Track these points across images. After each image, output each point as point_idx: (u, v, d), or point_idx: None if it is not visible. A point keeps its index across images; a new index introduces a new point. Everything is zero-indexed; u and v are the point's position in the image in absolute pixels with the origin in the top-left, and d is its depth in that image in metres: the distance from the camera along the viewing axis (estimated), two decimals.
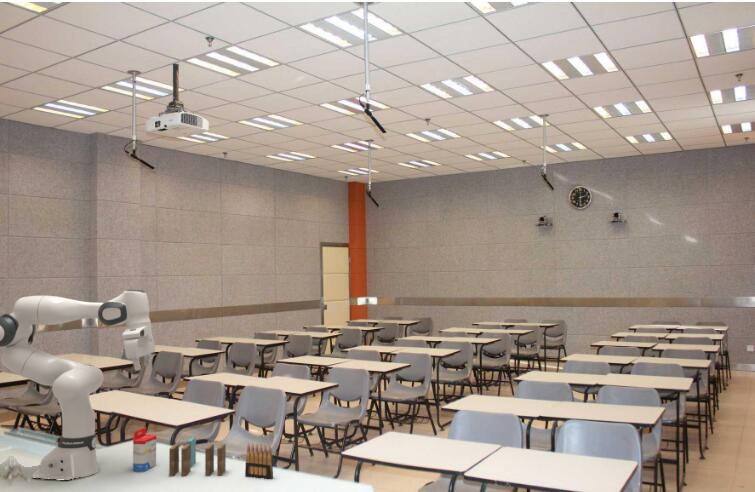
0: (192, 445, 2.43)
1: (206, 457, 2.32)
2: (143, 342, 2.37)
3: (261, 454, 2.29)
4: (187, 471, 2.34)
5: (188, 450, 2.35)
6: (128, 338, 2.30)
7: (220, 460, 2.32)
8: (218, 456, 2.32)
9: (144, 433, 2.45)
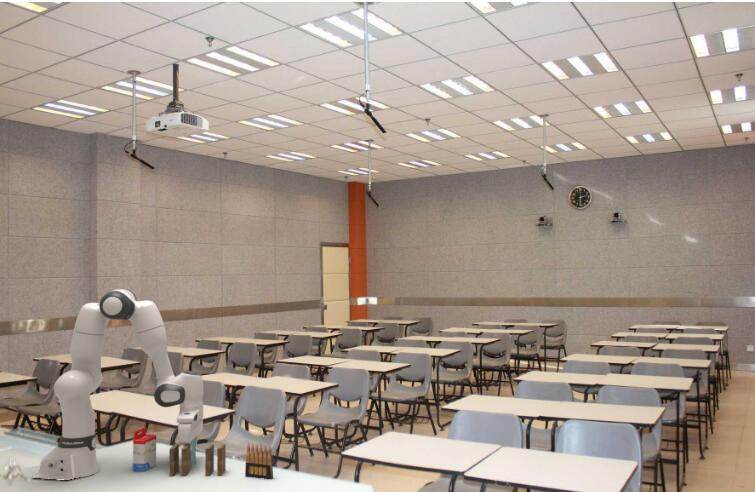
0: (192, 445, 2.43)
1: (206, 457, 2.32)
2: (194, 424, 2.44)
3: (261, 454, 2.29)
4: (187, 471, 2.34)
5: (188, 450, 2.34)
6: (182, 422, 2.37)
7: (220, 460, 2.32)
8: (218, 456, 2.32)
9: (144, 433, 2.45)
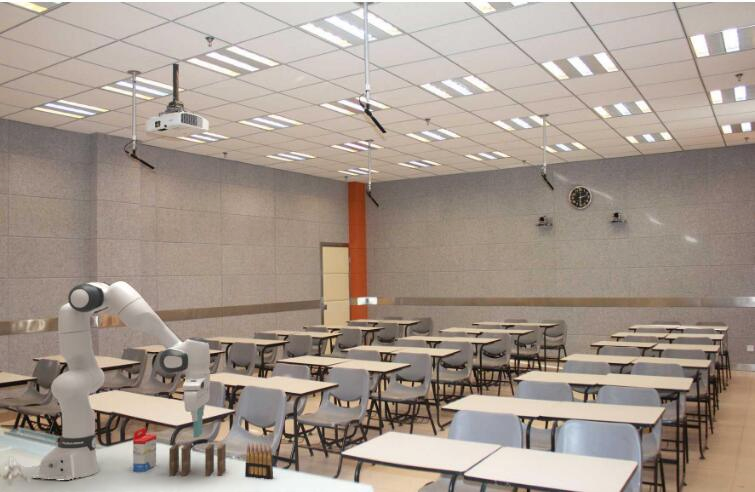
0: (198, 414, 2.33)
1: (206, 457, 2.32)
2: (201, 393, 2.35)
3: (261, 454, 2.29)
4: (187, 471, 2.34)
5: (188, 450, 2.35)
6: (188, 390, 2.27)
7: (220, 460, 2.32)
8: (218, 456, 2.32)
9: (144, 433, 2.45)
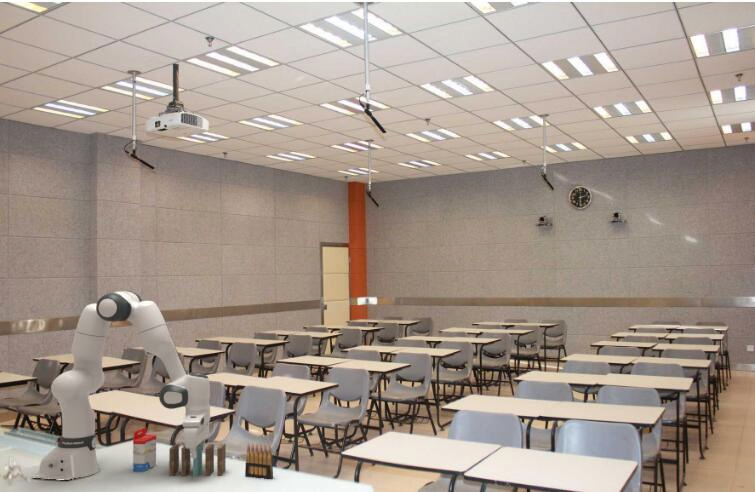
0: (198, 453, 2.33)
1: (206, 457, 2.32)
2: (201, 428, 2.34)
3: (261, 454, 2.29)
4: (187, 471, 2.34)
5: (188, 450, 2.35)
6: (188, 426, 2.27)
7: (220, 460, 2.32)
8: (218, 456, 2.32)
9: (144, 433, 2.45)
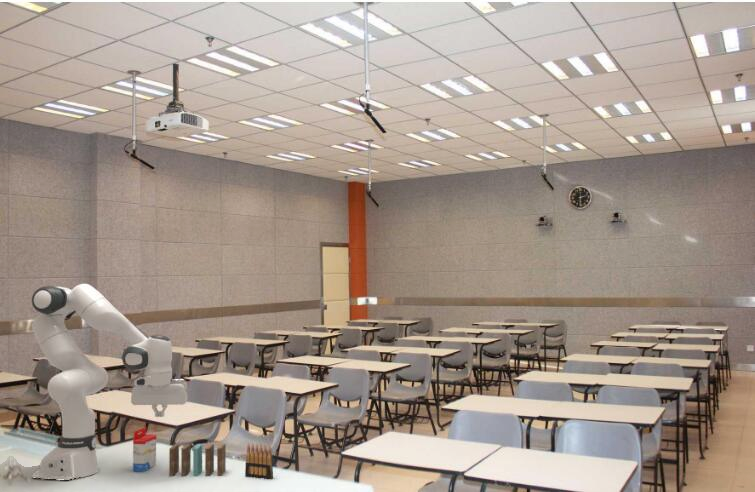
0: (198, 453, 2.33)
1: (206, 457, 2.32)
2: (156, 391, 2.34)
3: (261, 454, 2.29)
4: (187, 471, 2.34)
5: (188, 450, 2.35)
6: None
7: (220, 460, 2.32)
8: (218, 456, 2.32)
9: (144, 433, 2.45)
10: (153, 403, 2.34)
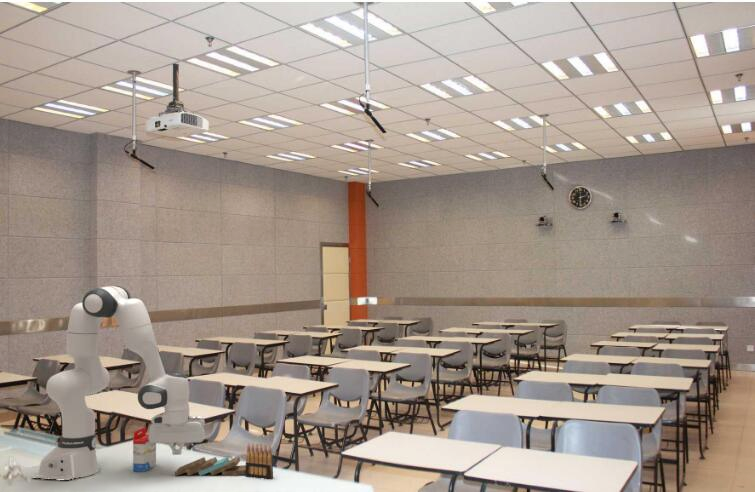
0: None
1: (227, 465, 2.31)
2: (173, 429, 2.33)
3: (261, 454, 2.29)
4: None
5: None
6: None
7: (237, 473, 2.31)
8: (241, 471, 2.31)
9: (144, 433, 2.45)
10: (170, 441, 2.33)
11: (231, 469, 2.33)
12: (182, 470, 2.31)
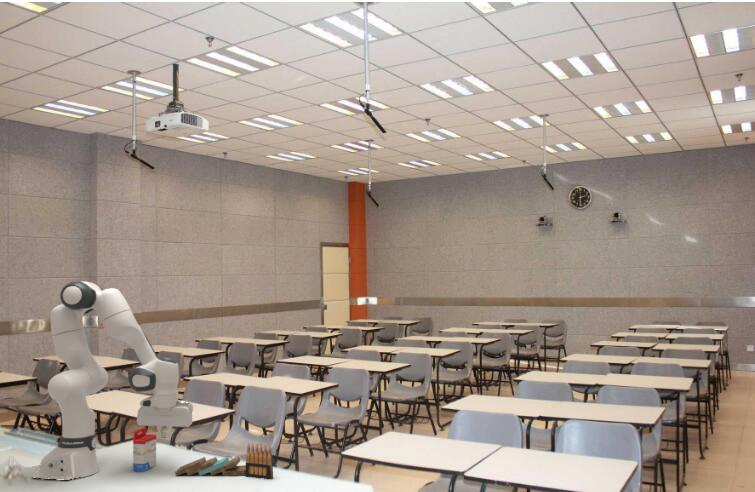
0: (220, 466, 2.32)
1: (227, 466, 2.31)
2: (161, 412, 2.36)
3: (261, 454, 2.29)
4: None
5: None
6: None
7: (237, 473, 2.31)
8: (241, 471, 2.31)
9: (144, 433, 2.45)
10: (158, 424, 2.36)
11: (231, 469, 2.33)
12: (182, 470, 2.32)
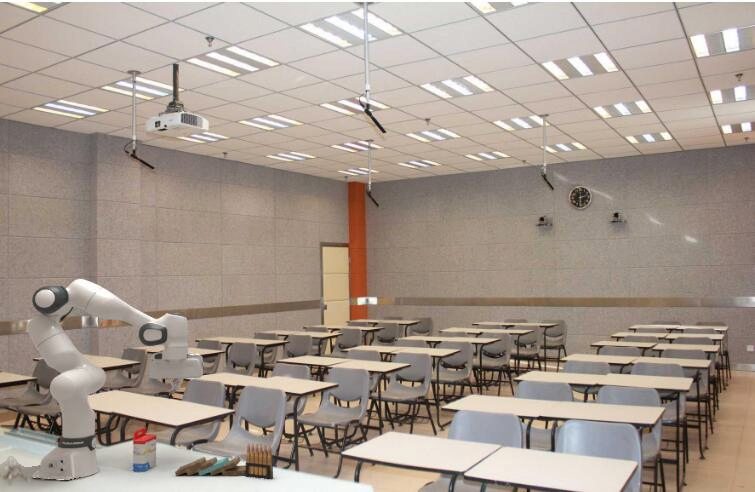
0: (220, 466, 2.32)
1: (227, 466, 2.31)
2: (172, 365, 2.44)
3: (261, 454, 2.29)
4: None
5: None
6: None
7: (237, 473, 2.31)
8: (241, 471, 2.31)
9: (144, 433, 2.45)
10: (170, 377, 2.44)
11: (231, 469, 2.33)
12: (182, 470, 2.32)
